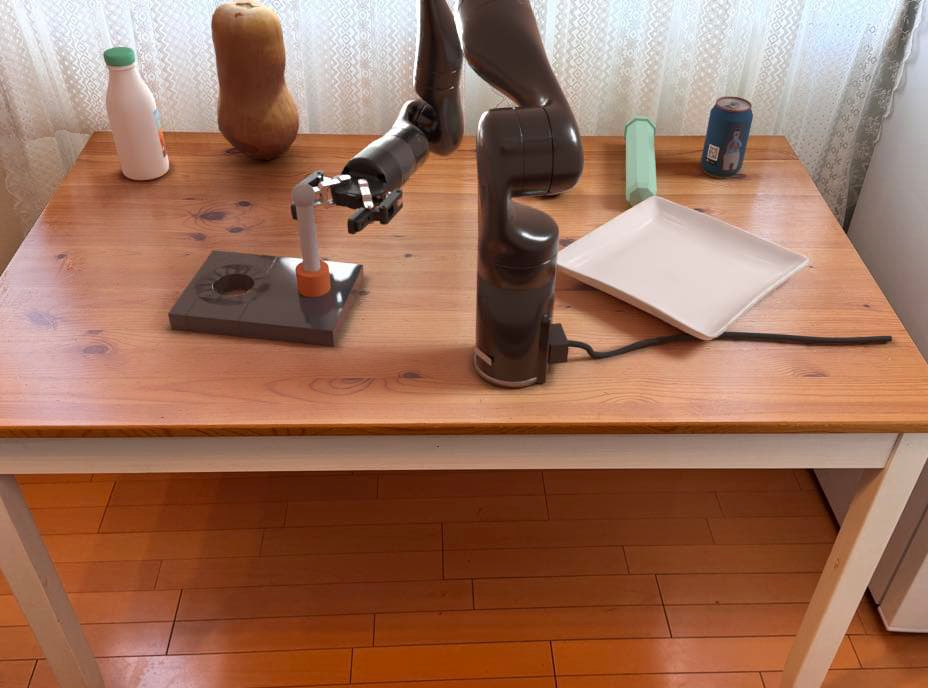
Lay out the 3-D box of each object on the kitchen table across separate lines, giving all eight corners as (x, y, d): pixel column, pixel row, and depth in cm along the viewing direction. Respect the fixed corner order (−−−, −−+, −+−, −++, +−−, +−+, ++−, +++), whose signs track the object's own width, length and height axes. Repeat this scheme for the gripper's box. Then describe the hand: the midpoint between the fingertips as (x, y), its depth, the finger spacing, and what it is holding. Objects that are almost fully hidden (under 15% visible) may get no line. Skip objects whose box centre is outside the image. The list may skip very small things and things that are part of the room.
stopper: (334, 281, 124) (324, 177, 114) (325, 298, 121) (314, 194, 111) (303, 277, 125) (290, 174, 115) (293, 295, 121) (279, 191, 111)
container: (655, 178, 141) (651, 110, 159) (618, 189, 143) (618, 121, 161) (664, 210, 144) (659, 141, 163) (628, 220, 146) (627, 150, 165)
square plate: (708, 361, 116) (714, 336, 114) (543, 279, 130) (544, 256, 127) (808, 278, 131) (815, 254, 129) (650, 212, 145) (654, 190, 143)
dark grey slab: (364, 279, 129) (363, 264, 128) (334, 346, 117) (332, 330, 116) (215, 264, 131) (212, 249, 130) (171, 329, 119) (167, 313, 118)
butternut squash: (314, 142, 163) (299, -5, 146) (285, 175, 153) (266, 21, 137) (242, 133, 165) (219, -13, 149) (209, 165, 155) (181, 13, 139)
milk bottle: (163, 182, 150) (135, 60, 137) (116, 181, 150) (84, 59, 137) (175, 161, 156) (150, 42, 143) (130, 160, 156) (101, 41, 143)
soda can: (715, 158, 161) (728, 91, 153) (748, 171, 157) (764, 104, 149) (691, 169, 157) (703, 102, 149) (724, 184, 153) (739, 115, 145)
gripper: (335, 136, 131) (272, 183, 119) (424, 155, 126) (367, 206, 115) (339, 184, 135) (279, 234, 124) (425, 204, 131) (371, 257, 120)
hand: (321, 221), depth 120 cm, fingers open, 8 cm apart
